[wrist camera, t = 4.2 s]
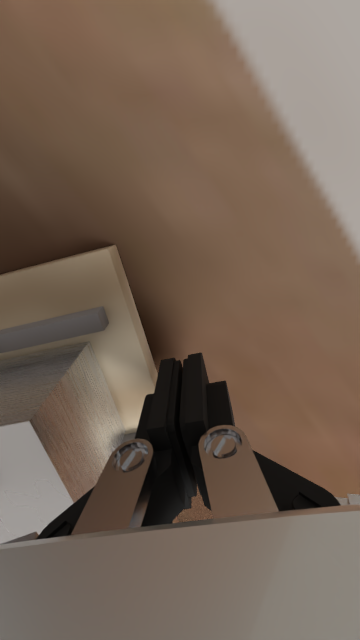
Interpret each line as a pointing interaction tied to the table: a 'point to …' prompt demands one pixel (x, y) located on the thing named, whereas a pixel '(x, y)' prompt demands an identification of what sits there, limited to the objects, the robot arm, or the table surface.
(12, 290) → the gauge bed
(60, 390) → the knobbed grey slider
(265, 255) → the table surface
